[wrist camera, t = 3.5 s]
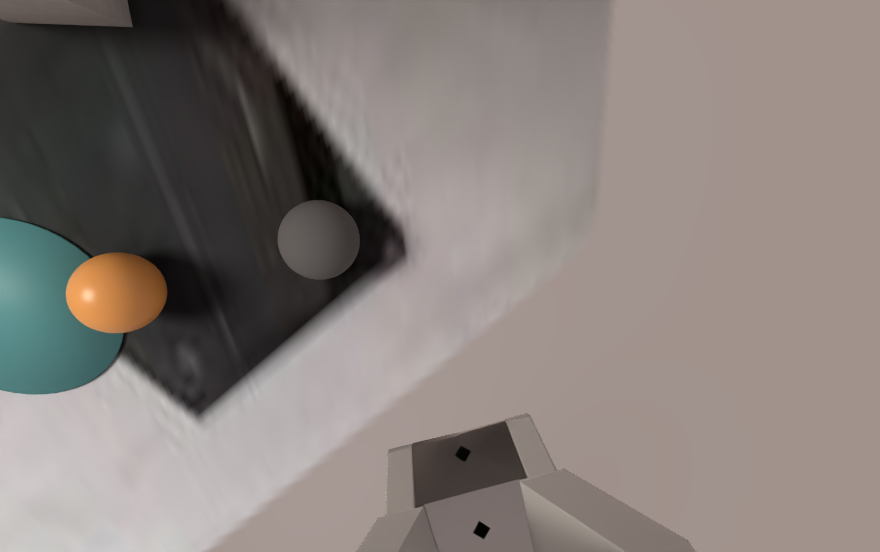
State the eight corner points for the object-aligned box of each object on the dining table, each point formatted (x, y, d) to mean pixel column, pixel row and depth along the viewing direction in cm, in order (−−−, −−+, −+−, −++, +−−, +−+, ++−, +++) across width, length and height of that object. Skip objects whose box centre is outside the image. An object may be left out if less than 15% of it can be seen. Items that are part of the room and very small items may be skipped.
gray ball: (301, 273, 33) (287, 300, 28) (275, 205, 31) (255, 220, 26) (370, 255, 33) (368, 278, 28) (348, 186, 31) (342, 198, 26)
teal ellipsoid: (-21, 413, 33) (-23, 415, 33) (-149, 246, 28) (-152, 247, 28) (157, 365, 34) (156, 366, 34) (62, 194, 29) (60, 194, 29)
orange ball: (121, 321, 32) (73, 357, 27) (84, 254, 30) (24, 280, 25) (193, 302, 33) (158, 335, 27) (160, 234, 31) (116, 256, 26)
